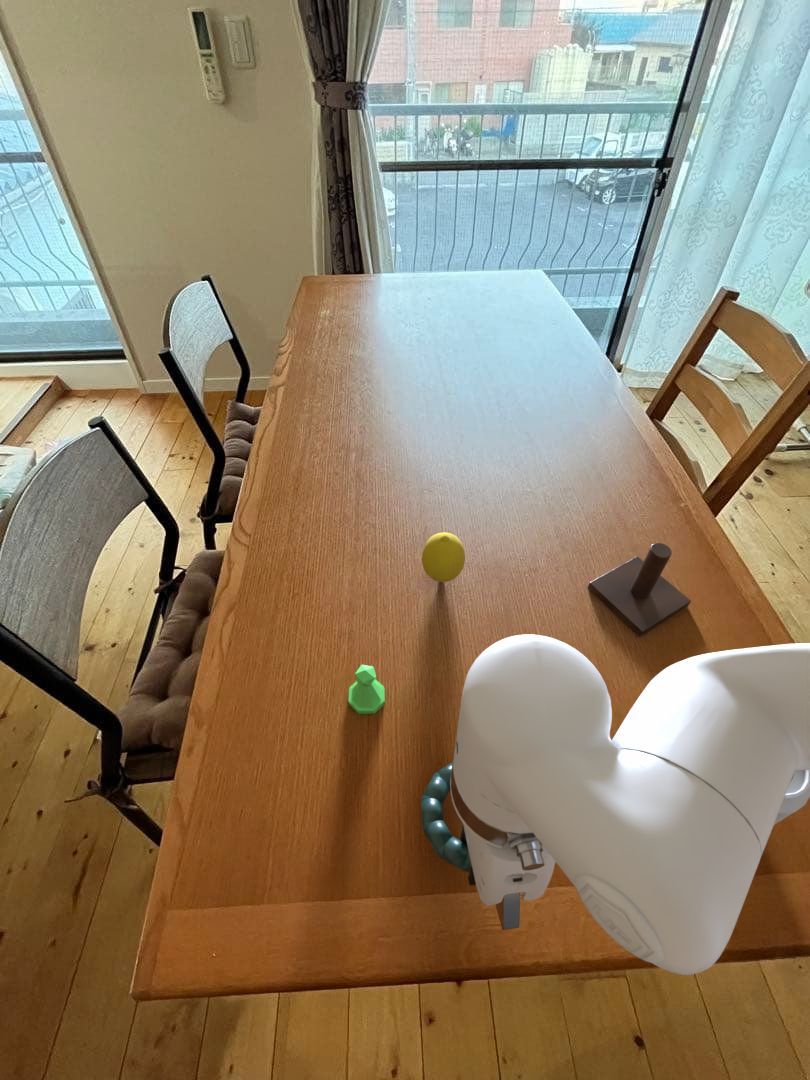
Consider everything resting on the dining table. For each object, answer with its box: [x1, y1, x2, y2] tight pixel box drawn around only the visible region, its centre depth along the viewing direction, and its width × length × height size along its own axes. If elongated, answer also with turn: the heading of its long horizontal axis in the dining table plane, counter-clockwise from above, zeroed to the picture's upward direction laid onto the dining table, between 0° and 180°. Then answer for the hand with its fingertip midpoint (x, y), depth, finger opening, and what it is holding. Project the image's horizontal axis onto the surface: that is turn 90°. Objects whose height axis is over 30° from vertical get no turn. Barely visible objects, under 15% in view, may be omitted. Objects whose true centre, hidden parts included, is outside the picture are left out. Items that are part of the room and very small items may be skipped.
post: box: [587, 542, 692, 638], centre depth 69 cm, size 9×9×9 cm
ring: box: [420, 761, 472, 873], centre depth 51 cm, size 10×10×2 cm
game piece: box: [348, 664, 386, 715], centre depth 60 cm, size 4×4×6 cm
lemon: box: [421, 531, 466, 583], centre depth 71 cm, size 6×6×8 cm
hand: (482, 858), depth 49 cm, fingers closed on ring, 2 cm apart
